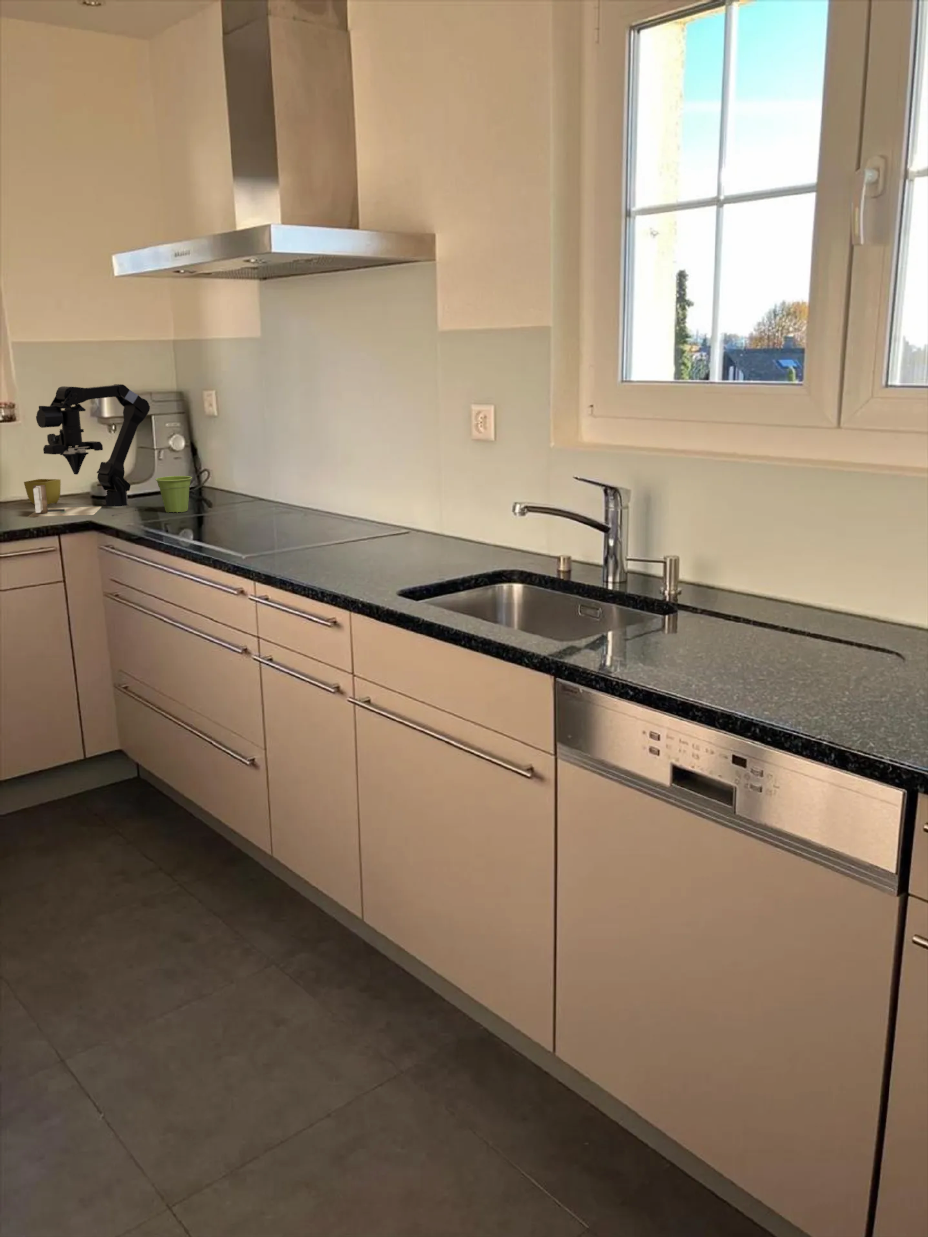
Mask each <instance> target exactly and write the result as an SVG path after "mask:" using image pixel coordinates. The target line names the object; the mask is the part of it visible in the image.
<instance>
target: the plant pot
mask: <svg viewBox="0 0 928 1237" xmlns="http://www.w3.org/2000/svg"><path fill="white" fill-rule="evenodd" d="M192 479H193V477H192V476H188V475H172V476H171V475H170V476H169V475H168V476H161V477H157V478H155V481H156V483H157V485H158V486H157V487H158V488H159V491H160V495H161V499H162V501H163V502H162V503H163V505H164V506H163V507H164V510H165V512H166V513H169V512H173V513H178V512H181V513H185V512H187V511H188V510H189V499H190V497H189V496H190V486H191V481H192Z"/></svg>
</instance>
